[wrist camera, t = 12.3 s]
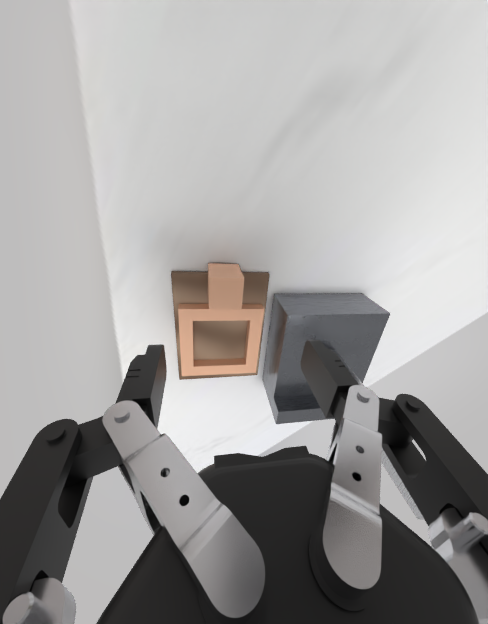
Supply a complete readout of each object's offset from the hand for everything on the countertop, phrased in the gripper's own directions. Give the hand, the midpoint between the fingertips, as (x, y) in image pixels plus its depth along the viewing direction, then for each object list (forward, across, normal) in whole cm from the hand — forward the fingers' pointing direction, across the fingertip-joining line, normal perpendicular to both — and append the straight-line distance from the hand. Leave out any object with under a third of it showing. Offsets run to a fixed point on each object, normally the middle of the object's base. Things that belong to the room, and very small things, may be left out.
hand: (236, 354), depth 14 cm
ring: (+13, 0, +6) cm, 14 cm away
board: (+13, 0, +7) cm, 15 cm away
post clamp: (+13, -12, +10) cm, 20 cm away
